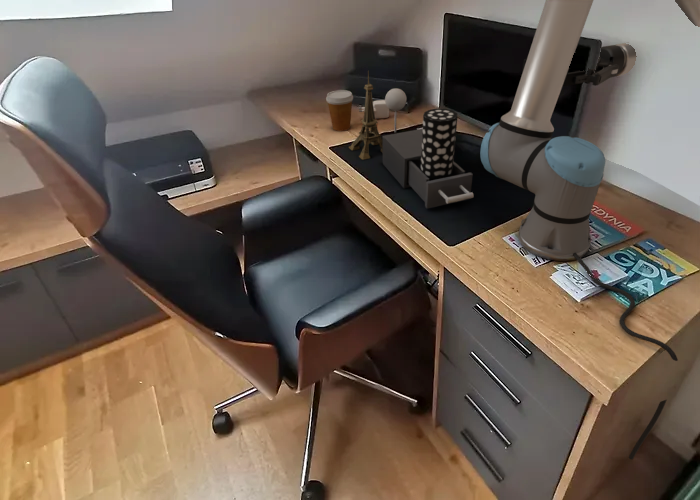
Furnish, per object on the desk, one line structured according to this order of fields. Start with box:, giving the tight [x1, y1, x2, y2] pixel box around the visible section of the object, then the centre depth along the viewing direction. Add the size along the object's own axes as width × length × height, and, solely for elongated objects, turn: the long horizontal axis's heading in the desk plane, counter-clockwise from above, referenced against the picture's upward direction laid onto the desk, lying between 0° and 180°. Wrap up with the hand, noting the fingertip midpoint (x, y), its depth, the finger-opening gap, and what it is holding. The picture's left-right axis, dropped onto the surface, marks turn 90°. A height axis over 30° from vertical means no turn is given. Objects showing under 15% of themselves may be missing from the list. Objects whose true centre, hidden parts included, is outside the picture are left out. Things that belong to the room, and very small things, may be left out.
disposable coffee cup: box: [325, 89, 354, 132], centre depth 163 cm, size 10×10×12 cm
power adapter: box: [358, 99, 390, 120], centre depth 171 cm, size 11×5×6 cm, turn 94°
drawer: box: [407, 158, 475, 209], centre depth 122 cm, size 21×12×7 cm, turn 18°
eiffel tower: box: [348, 70, 383, 161], centre depth 143 cm, size 11×11×25 cm
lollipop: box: [384, 87, 407, 134], centre depth 156 cm, size 7×7×15 cm
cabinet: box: [382, 128, 423, 189], centre depth 134 cm, size 17×14×9 cm
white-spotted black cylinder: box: [421, 108, 459, 181], centre depth 119 cm, size 8×8×20 cm
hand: (540, 72), depth 110 cm, fingers open, 13 cm apart
